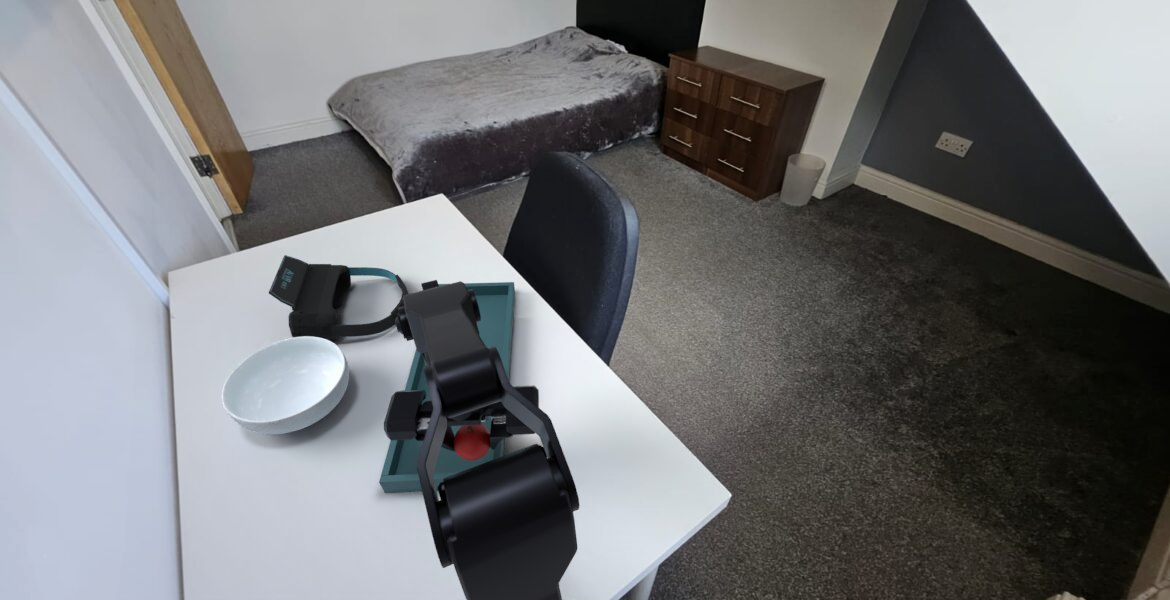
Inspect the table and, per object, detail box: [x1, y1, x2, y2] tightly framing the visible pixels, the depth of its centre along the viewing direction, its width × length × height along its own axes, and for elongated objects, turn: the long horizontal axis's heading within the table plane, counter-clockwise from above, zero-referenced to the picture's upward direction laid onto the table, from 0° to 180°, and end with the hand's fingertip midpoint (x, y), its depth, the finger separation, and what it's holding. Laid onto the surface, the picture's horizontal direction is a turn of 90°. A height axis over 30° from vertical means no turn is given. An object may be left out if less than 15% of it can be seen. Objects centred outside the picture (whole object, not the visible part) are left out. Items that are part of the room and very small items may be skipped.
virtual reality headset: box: [268, 254, 409, 340], centre depth 90 cm, size 19×22×10 cm
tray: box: [378, 281, 516, 494], centre depth 80 cm, size 42×16×3 cm, turn 4°
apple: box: [454, 424, 490, 460], centre depth 64 cm, size 5×5×6 cm
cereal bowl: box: [221, 336, 350, 435], centre depth 74 cm, size 17×17×7 cm
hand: (474, 447), depth 65 cm, fingers closed on apple, 5 cm apart
